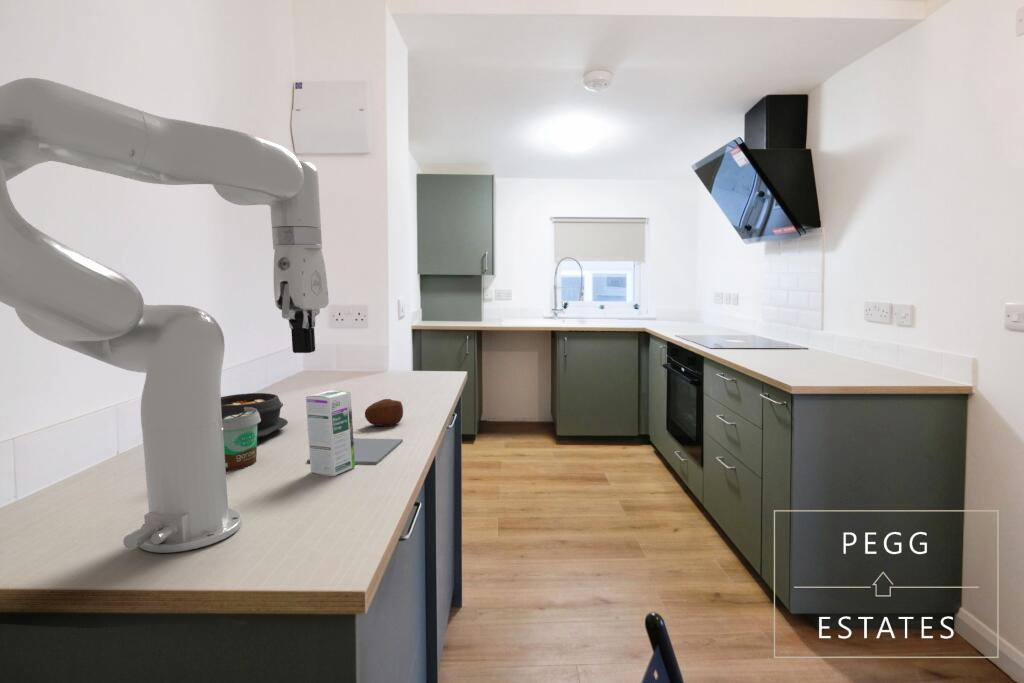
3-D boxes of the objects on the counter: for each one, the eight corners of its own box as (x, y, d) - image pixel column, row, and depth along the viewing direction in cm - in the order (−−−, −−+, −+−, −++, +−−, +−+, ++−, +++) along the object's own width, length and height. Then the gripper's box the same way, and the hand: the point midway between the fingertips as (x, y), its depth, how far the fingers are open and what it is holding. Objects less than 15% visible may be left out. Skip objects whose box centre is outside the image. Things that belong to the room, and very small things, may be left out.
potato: (406, 426, 139) (405, 400, 139) (366, 430, 136) (365, 403, 136) (401, 420, 146) (400, 395, 145) (363, 424, 143) (362, 398, 142)
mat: (376, 464, 110) (376, 461, 110) (307, 462, 112) (306, 460, 112) (402, 441, 126) (402, 439, 126) (341, 440, 128) (341, 438, 128)
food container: (235, 476, 105) (232, 421, 104) (206, 474, 106) (202, 420, 105) (276, 456, 117) (273, 407, 116) (249, 454, 118) (246, 406, 117)
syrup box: (334, 477, 103) (330, 396, 102) (309, 473, 106) (305, 394, 105) (355, 467, 109) (352, 391, 107) (331, 464, 111) (327, 389, 110)
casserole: (285, 444, 126) (283, 406, 125) (189, 453, 120) (186, 413, 119) (290, 419, 150) (289, 387, 149) (210, 425, 144) (208, 392, 143)
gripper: (296, 236, 87) (304, 358, 89) (338, 242, 101) (344, 346, 103) (249, 237, 87) (258, 358, 89) (297, 243, 102) (304, 347, 104)
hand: (304, 352), depth 96 cm, fingers closed
